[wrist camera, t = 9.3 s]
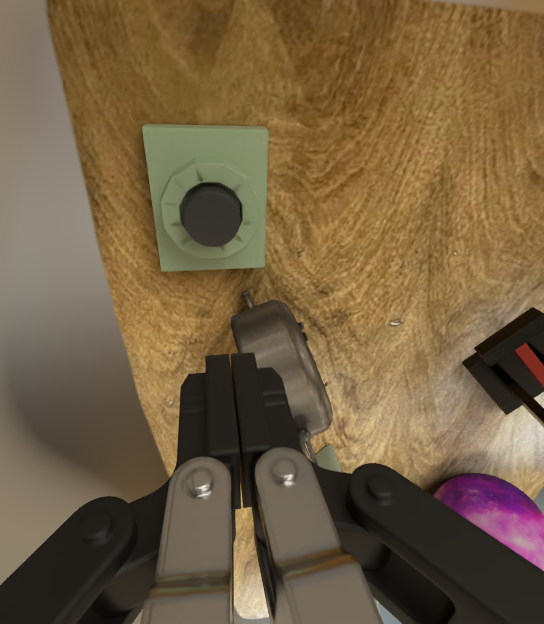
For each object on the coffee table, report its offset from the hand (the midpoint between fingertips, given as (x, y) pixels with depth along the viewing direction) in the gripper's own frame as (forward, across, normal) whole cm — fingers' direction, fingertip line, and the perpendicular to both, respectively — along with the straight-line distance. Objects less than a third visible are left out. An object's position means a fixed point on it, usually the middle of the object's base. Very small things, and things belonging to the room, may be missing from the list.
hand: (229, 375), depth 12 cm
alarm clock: (+20, -5, +12) cm, 23 cm away
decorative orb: (+20, -34, +43) cm, 59 cm away
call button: (+16, 0, 0) cm, 16 cm away
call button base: (+20, 0, 0) cm, 20 cm away
